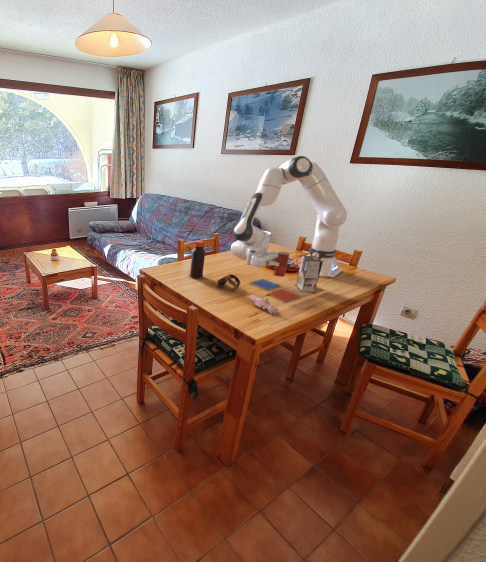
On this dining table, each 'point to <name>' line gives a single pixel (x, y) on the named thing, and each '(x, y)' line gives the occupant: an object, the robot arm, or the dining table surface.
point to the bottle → (197, 260)
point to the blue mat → (265, 284)
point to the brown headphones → (229, 281)
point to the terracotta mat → (283, 295)
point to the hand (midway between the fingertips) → (283, 263)
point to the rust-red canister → (283, 260)
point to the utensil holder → (266, 240)
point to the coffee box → (309, 273)
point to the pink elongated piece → (263, 304)
